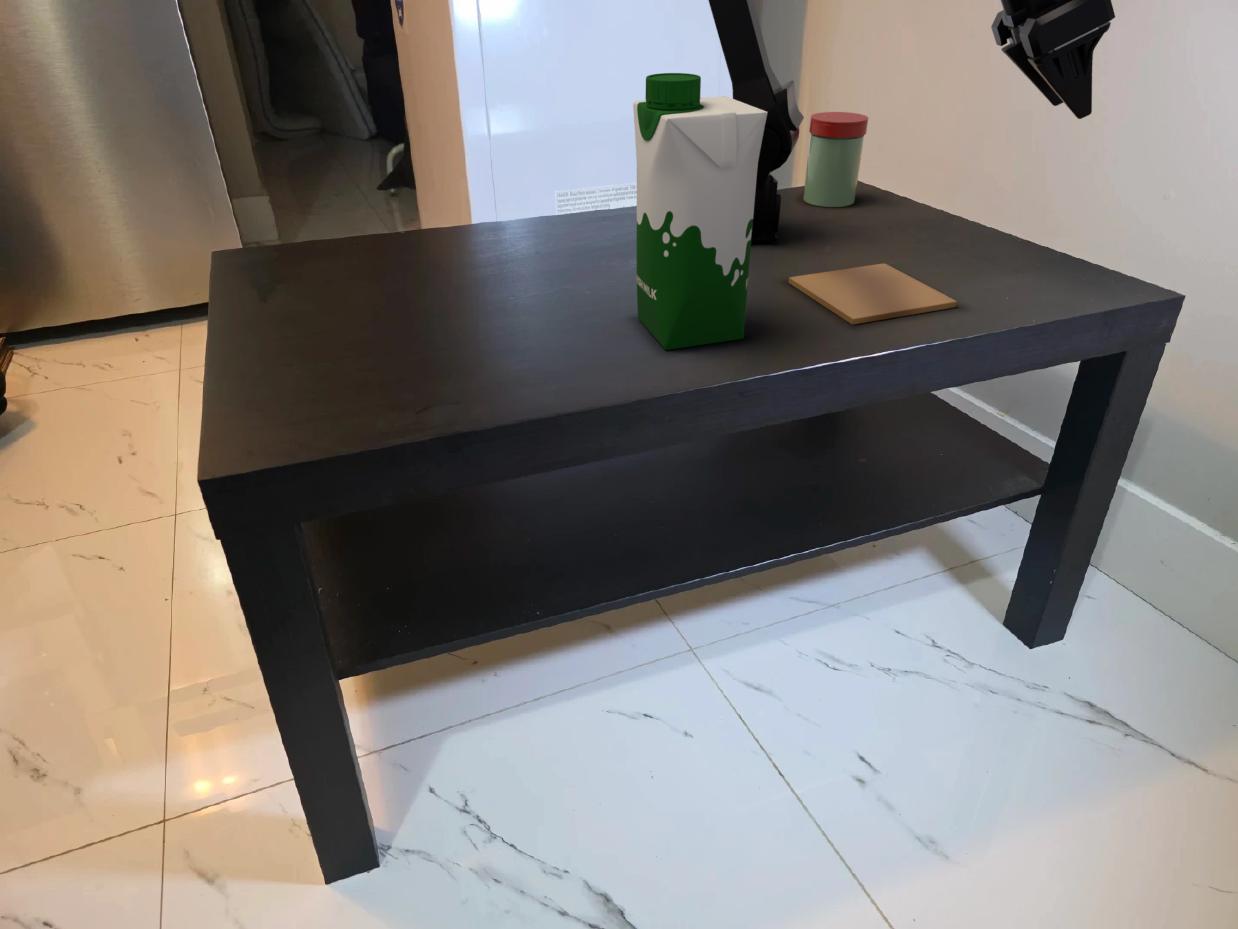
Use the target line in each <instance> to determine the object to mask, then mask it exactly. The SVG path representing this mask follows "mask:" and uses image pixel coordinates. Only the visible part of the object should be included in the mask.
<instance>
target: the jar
mask: <svg viewBox="0 0 1238 929" xmlns="http://www.w3.org/2000/svg"><path fill="white" fill-rule="evenodd" d="M864 140H865V135H863V136H860V137H853V138H830V137H822V136H817V135H814V134H811V133H810V135H809V144H808V154H807V160H806V161H807V162H806V171H805V178H804V190H803V201H804V202H805V203H807V204H809V205H812V206H816V207H823V208H843V207H848V206H851V205H853V204H855V202H856V195H857V189H858V188H857V187H858V181H859V174H860V168H861V161H862V153H863V147H864Z"/></svg>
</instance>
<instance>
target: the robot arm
mask: <svg viewBox="0 0 1238 929" xmlns="http://www.w3.org/2000/svg"><path fill="white" fill-rule="evenodd" d="M707 1H708V4H709V7H710V11H711V14H712V18H713V21H714V25H715V29H716V32H717V36H718V40H719V43H720V47H721V50H722V53H723V57H724V61H725V63H726V67H727V71H728V75H729V78H730V81H731V89H732V99H734V100H737V101H740V102H742V103H745V104H748V105H750V106H753V107H756V108H758V109H761V110H764V111H766V112H768V113H767V117H766V122H765V127H764V132H763V138H762V143H761V148H760V154H759V159H758V167H757V178H756V190H755V202H754V214H753V226H752V238H751V244H764V243H766V244H767V243H776V242H778V236H777V235H776V234H775V233H777V232H778V231H779V226H780V216H781V215H780V214H781V205H782V204H781V203H782V194H780V192H778V186H779V185H778V184H779V181H778V180H777V179H776V178H775V177H774V176H773V175H772V174H771V173H772V172H774V171H776V170H778V169H780V168H781V167H782V166H783V165H784V164H786V162H787V161H788V159H789V157H790V156H791V154H792V152H793V150H794V148H795V146H796V144H797V142H798V140H799V137H800V126H801V124H802V122H803V121H804V119H805V116H804V115H803V113H802V112H801V111H800V108H799V106H798V103H797V96H796V85H795V80H790V81H788V82H787V83H784V84H783V85H782V84H781V83H780V81H779V80H778V78H777V76H776V74H775V72H774V71H773V69H772V66H771V63H770V60H769V57H768V53H767V49H766V44H765V41H764V37H763V33H762V29H761V25H760V21H759V18H758V14H757V9H756V7H755V3H754V0H707ZM1000 3H1001V6H1002V9H1003V10H1000V11H999V12H997V13H996V15H995V18H994V20H993V22H992V24H991V26H990V28H991V31H992V34H993V38H994V42H995V44H996V45H997V46H999V47H1002V48H1001V49H1000V50H1001V52H1002V53H1003V54H1004V55H1006V57H1008V59H1009V60H1010V61H1012V63H1013V64H1014V66H1016V67H1017V68H1018V69H1019V70H1020V71H1021V72H1022V74H1023V75H1024V77H1026V78H1027V79H1028V80H1029V81H1030V82H1031V83H1032V84H1033V85H1034V86H1035V88H1036V89H1037V90H1038V91H1039V92H1040V93H1041V94H1042V95H1043V96H1044V97H1045V98H1046V100H1047V101H1048V102H1049V103H1050V104H1051V105H1052V106H1054V107H1058V106H1059V105H1061V104H1063V103H1064V105H1065V106H1066V107H1067V108H1068V109H1069V111H1070V112H1071V113H1072V115H1074V116H1075V117H1076V118H1077V120H1081V119H1085V118H1086V117H1088V116H1090V115H1091V114H1092V112H1093V62H1094V61H1093V60H1094V51H1095V49H1096V47H1097V45H1099V43H1100V41H1101V40H1102V37H1103V36H1104V34H1105V33H1107V32H1108V31H1109V29H1110V28H1111V23H1112V20H1113V19H1115V18H1116V14H1115V11H1114V6H1113V2H1112V0H1000ZM1008 42H1009V43H1008Z"/></svg>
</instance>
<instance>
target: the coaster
mask: <svg viewBox="0 0 1238 929" xmlns="http://www.w3.org/2000/svg"><path fill="white" fill-rule="evenodd" d="M788 284H789V285H790V286H793V287H794V288H795V289H797V290H798V291H800V292H802V293H803V294H805V295H806V296H808V297H809V298H810V299H812V300H814V301H815V302H817V303H818V304H820V305H821V306H823V307H825V308H826V309H827V310H829V311H830V312H832V313H834V314H835V315H836V316H838V317H839V318H841V319H842V320H844V321H845V322H847V323H849V324H850V325H852V326H854V325H859V324H865V323H870V322H878V321H884V320H888V319H894V318H900V317H901V318H902V317H907V316H912V315H918V314H924V313H930V312H936V311H942V310H948V309H953V308H956V307H957V304H958V301H957V300H955V299H953V298H951V297H949V295H948V296H947V295H946V294H944V293H942V292H940V291H938V290H936V289H935V288H933V287H931V286H929V285H927V284H925V283H923V282H921V281H920V280H917V279H915V278H914V277H912V276H909V275H907V274H906V273H904V272H902V271H901V270H898V269H897V268H894V267H893V266H891V265H889V264H887V263H885V262H884V263H883V262H882V263H878V264H870V265H864V266H856V267H851V268H844V269H836V270H829V271H822V272H817V273H810V274H809V273H808V274H802V275H795V276H789V277H788Z"/></svg>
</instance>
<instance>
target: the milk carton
mask: <svg viewBox="0 0 1238 929" xmlns="http://www.w3.org/2000/svg"><path fill="white" fill-rule="evenodd" d="M701 84H702V78H701V76H700V75H698V74H695V73H687V72H686V73H684V72H663V73H654V74H649V75H646V77H645V97H644V98H645V99H644V100H642V99H641V100H634V101H633V103H632V108H633V110H632V111H633V124H634V139H635V141H634V142H635V158H636V159H635V160H636V297H637V300H636V301H637V302H636V303H637V319H638V321H640V323H641V324H642V325H643V326H644V328H645V329H646V330H647V331H648V332H649V333H650V334H651V336H652V337H653V338H654V339H655V340H656V341H657V342H658V344H659V345H660V346H661V347H662V348H663V349H664V350H665V351H669V350H676V349H677V350H678V349H683V348H684V349H685V348H689V347H696V346H697V347H698V346H704V345H709V344H715V343H716V344H717V343H724V342H731V341H736V340H742V339H744V338H745V326H746V312H747V298H748V287H749V272H750V260H751V248H752V243H751V238H752V226H753V214H754V202H755V190H756V178H757V167H758V159H759V154H760V148H761V143H762V138H763V132H764V127H765V122H766V117H767V113H768V112H766V111H764V110H761V109H758V108H756V107H753V106H750V105H748V104H745V103H742V102H740V101H737V100H734V99H733V97H729V96H726V95H722V96H707V97H705V96H703V97H701V87H702V85H701Z"/></svg>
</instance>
